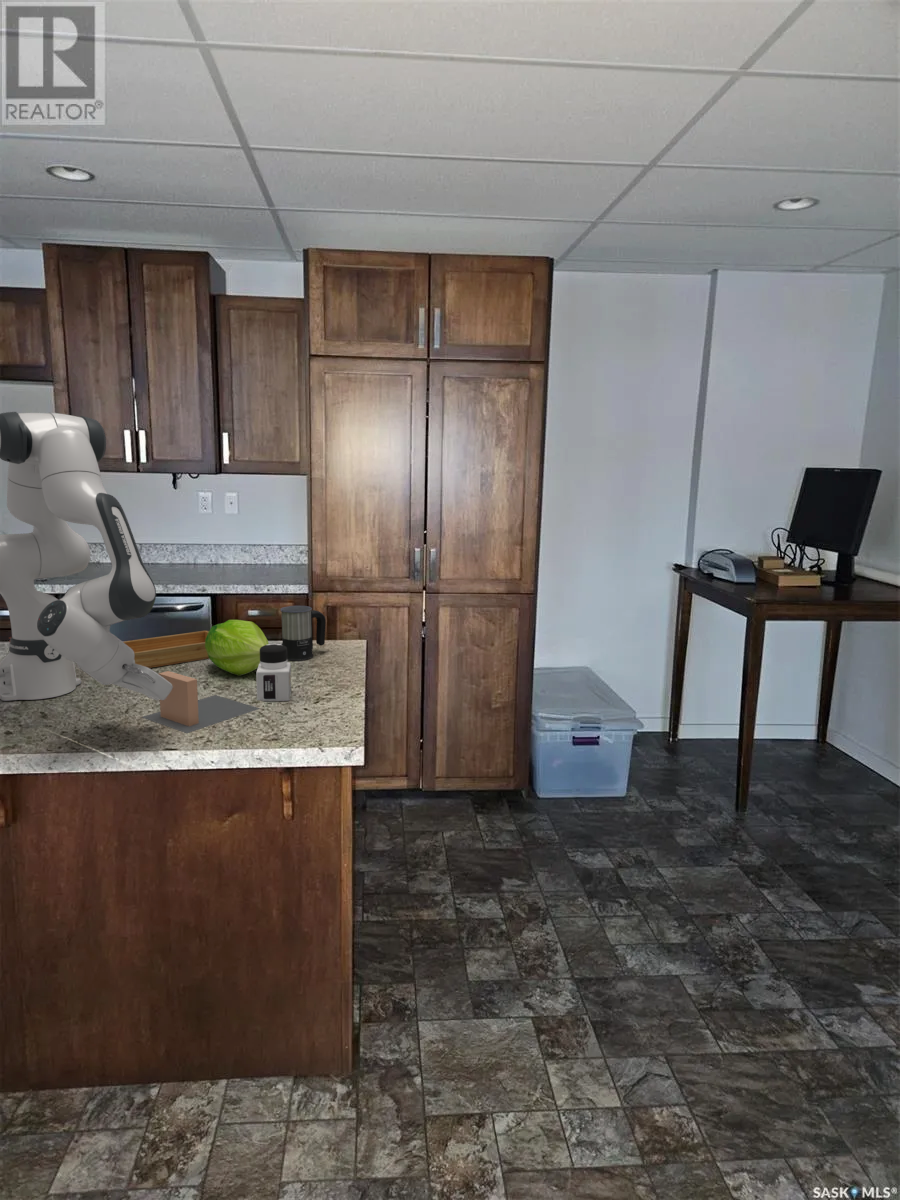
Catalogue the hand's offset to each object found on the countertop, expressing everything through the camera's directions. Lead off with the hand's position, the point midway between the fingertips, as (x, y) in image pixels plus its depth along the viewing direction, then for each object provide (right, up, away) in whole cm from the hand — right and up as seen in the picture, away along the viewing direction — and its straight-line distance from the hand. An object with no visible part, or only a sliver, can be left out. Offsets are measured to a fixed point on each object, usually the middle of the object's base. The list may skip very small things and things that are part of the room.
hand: (156, 696), depth 156 cm
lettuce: (+4, +1, +45) cm, 45 cm away
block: (+3, -6, +6) cm, 9 cm away
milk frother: (+16, +4, +65) cm, 67 cm away
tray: (-19, +3, +56) cm, 59 cm away
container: (+19, -4, +25) cm, 31 cm away
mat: (+6, -6, +11) cm, 13 cm away
